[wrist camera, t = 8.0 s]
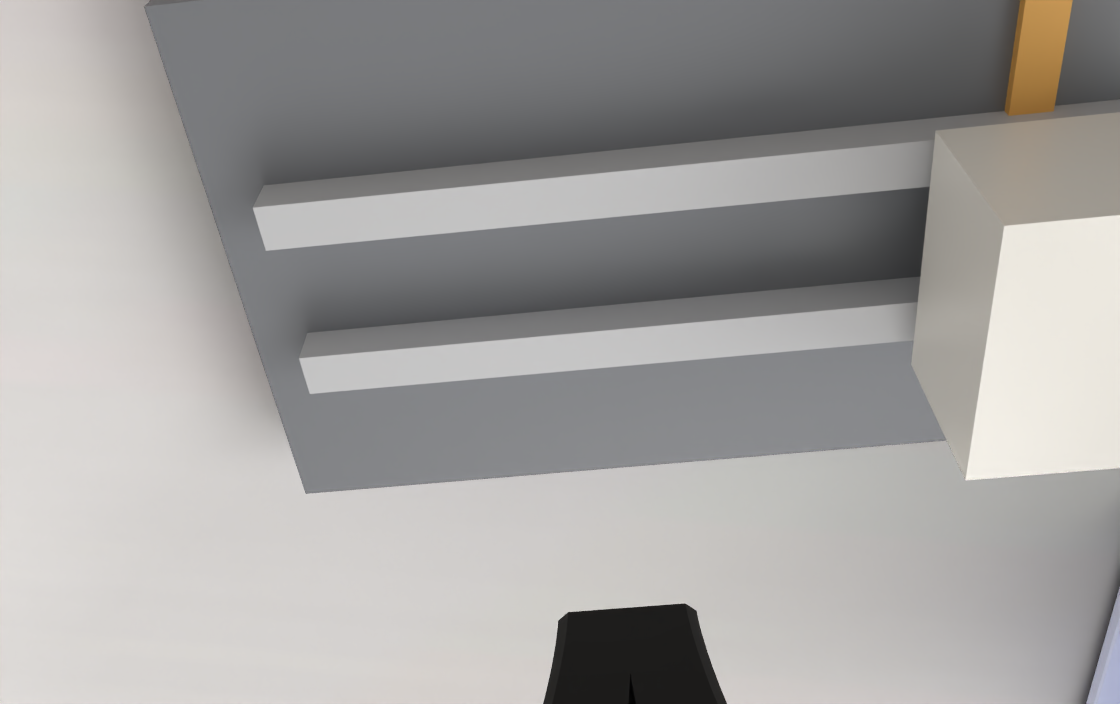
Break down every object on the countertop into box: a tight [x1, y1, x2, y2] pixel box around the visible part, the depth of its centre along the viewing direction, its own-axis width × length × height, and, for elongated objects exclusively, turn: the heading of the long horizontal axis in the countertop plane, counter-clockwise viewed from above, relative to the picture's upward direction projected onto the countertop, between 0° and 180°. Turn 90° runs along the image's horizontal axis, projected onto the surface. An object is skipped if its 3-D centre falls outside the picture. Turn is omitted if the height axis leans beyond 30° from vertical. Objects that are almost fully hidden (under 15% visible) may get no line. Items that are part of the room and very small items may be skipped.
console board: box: [144, 0, 1120, 494], centre depth 19 cm, size 10×19×2 cm, turn 96°
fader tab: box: [911, 112, 1120, 481], centre depth 16 cm, size 4×4×4 cm
